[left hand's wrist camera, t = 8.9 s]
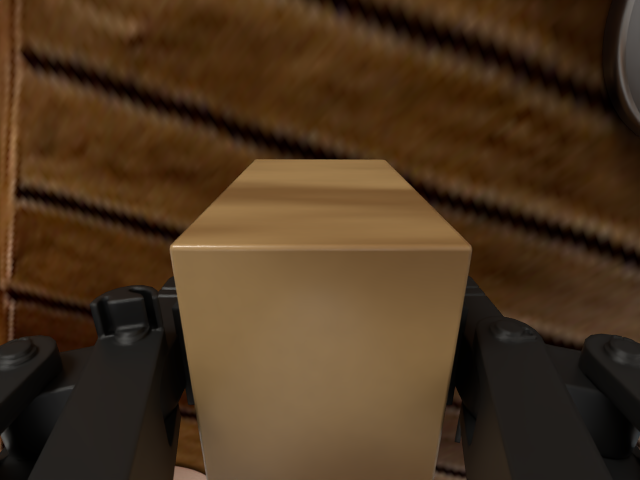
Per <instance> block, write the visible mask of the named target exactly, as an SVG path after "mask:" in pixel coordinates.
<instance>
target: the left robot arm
mask: <svg viewBox="0 0 640 480" xmlns="http://www.w3.org/2000/svg"><path fill="white" fill-rule="evenodd" d="M603 73H604V79H605V84H606V89H607V92H608V95H609V98H610V100H611V102H612V105H613V107H614V109H615V111H616V112H617V114H618V115H619V117H620V118H621V120H622V121H623V122H624V123H625V124H626V126H627V127H628V128H629V129H631V130H632V131H633V132H634V133H635V134H636V135H638V136H639V137H640V0H612V3H611V6H610V10H609V14H608V17H607V21H606V27H605V32H604V40H603ZM90 308H91V312H92V315H93V319H94V323H95V327H96V330H97V334H98V340H97V342H96V344H95V346H91V347H86V348H81V349H76V350H71V351H66V352H60V353H59V350H58V347H57V344H56V341H55V340H54V339H52V338H51V337H48V336H40V335H39V336H30V337H22V338H19V339H15V340H11V341H9V342H7V343H6V344H3V345H1V346H0V435H1V437H2V440H3V442H4V444H5V448H4V449H3V450H2V451H1V452H0V480H173V479H174V470H175V462H176V454H177V446H178V437H179V429H180V421H181V416H180V410H179V404H178V402H179V400H180V397H181V395H182V393H183V391H184V389H185V388H186V394H187V400H188V405H195V403H194V397H193V391H192V384H191V378H190V372H189V366H188V360H187V353H186V347H185V341H184V335H183V329H182V322H181V316H180V310H179V304H178V298H177V292H176V285H175V279H174V276H173V277H171V278H170V279H169V280H168V281H167V282H166V283H165V284H164V286H163V287H162V290H160V291H159V292H158V291H157V290H155V289H154V288H153V287H149V286H144V285H135V286H127V287H121V288H117V289H114V290H111V291H108V292H106V293H104V294H102V295H100V296H99V297H97V298H96V299H95V300H94V301H93V302H92V303H91V304H90ZM455 386H456V388H457V391H458V393H459V395H460V397H461V399H462V404H461V410H460V415H459V420H458V426H457V431H456V437H455V442H458V443H460V439H461V436H462V445H463V453H464V461H465V469H466V478H467V480H640V450H639V448H638V447H637V446H636V443H637V441H638V439H639V436H640V344H639V343H637V342H635V341H633V340H631V339H629V338H626V337H622V336H617V335H608V334H596V335H590V336H589V337H588V338H586V339H585V342H584V345H583V348H582V351H578V350H573V349H568V348H563V347H557V346H552V345H548V344H545V343H544V341H543V339H542V337H541V336H540V335H539V334H538V332H537V331H536V330H535V329H533V328H532V327H530V326H529V325H527V324H525V323H523V322H520V321H518V320H515V319H512V318H507V317H504V316H503V315H502V314H501V313H500V312H499V310H498V309H497V308H496V307H495V306H494V304H493V303H492V302H491V301H490V300H489V298H488V297H487V296H485V293H484V292H483V291H482V290H481V289H480V288H479V286H478V285H477V284H476V283H475V281H474V280H473V279H472V278H471V277H470V276H468V278H467V284H466V290H465V296H464V302H463V308H462V314H461V320H460V326H459V332H458V338H457V344H456V350H455V355H454V361H453V367H452V373H451V379H450V385H449V391H448V397H447V403H446V405H452V401H453V396H454V390H455Z"/></svg>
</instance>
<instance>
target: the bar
mask: <svg viewBox="0 0 640 480" xmlns="http://www.w3.org/2000/svg"><path fill="white" fill-rule="evenodd" d="M170 254H171V261H172V267H173V273H174V279H175V285H176V292H177V298H178V304H179V310H180V316H181V322H182V329H183V335H184V341H185V347H186V353H187V360H188V366H189V372H190V378H191V384H192V391H193V397H194V403H195V409H196V415H197V422H198V428H199V434H200V440H201V446H202V453H203V459H204V465H205V471H206V477H207V480H434V474H435V468H436V463H437V457H438V451H439V445H440V439H441V433H442V427H443V421H444V415H445V409H446V403H447V397H448V391H449V385H450V379H451V373H452V367H453V361H454V355H455V350H456V344H457V338H458V332H459V326H460V320H461V314H462V308H463V302H464V296H465V290H466V284H467V278H468V272H469V266H470V260H471V254H472V247H471V245H470V244H469V243H468V242H467V241H466V240H465V239H464V238H463V237H462V236H461V235H460V234H459V233H458V232H457V231H456V230H455V229H454V228H453V227H452V226H451V225H450V224H449V223H448V222H447V221H446V220H445V219H444V218H443V217H442V216H441V215H440V214H439V213H438V212H437V211H436V210H435V209H434V208H433V207H432V206H431V205H430V204H429V203H428V202H427V201H426V200H425V199H424V198H423V197H422V196H421V195H420V194H419V193H418V192H417V191H416V190H415V189H414V188H413V187H412V186H411V185H410V184H409V183H408V182H407V181H406V180H405V179H404V178H403V177H402V176H401V175H400V174H399V173H398V172H397V171H396V170H395V169H394V168H393V167H392V166H391V165H390V164H388V163H387V162H386V161H385V160H255V161H254V162H253V163H252V164H251V165H250V166H249V167H248V168H247V169H246V170H245V171H244V172H243V173H242V174H241V175H240V176H239V177H238V178H237V179H236V180H235V181H234V182H233V183H232V184H231V185H230V186H229V187H228V188H227V189H226V190H225V191H224V192H223V193H222V194H221V195H220V196H219V197H218V198H217V199H216V200H215V201H214V202H213V203H212V204H211V205H210V206H209V207H208V208H207V209H206V210H205V211H204V212H203V213H202V214H201V215H200V216H199V217H198V218H197V219H196V220H195V221H194V222H193V223H192V224H191V225H190V226H189V227H188V228H187V229H186V230H185V231H184V232H183V233H182V234H181V235H180V236H179V237H178V238H177V239H176V240H175V241H174V242H173V243H172V244H171V246H170Z"/></svg>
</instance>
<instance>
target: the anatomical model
mask: <svg viewBox="0 0 640 480" xmlns="http://www.w3.org/2000/svg"><path fill="white" fill-rule="evenodd" d="M173 480H207V477H206V475H204V474H202V473H200V472H198V471H195V470H192V469H188V468H184V467H178V466H175V470H174V479H173Z"/></svg>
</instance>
